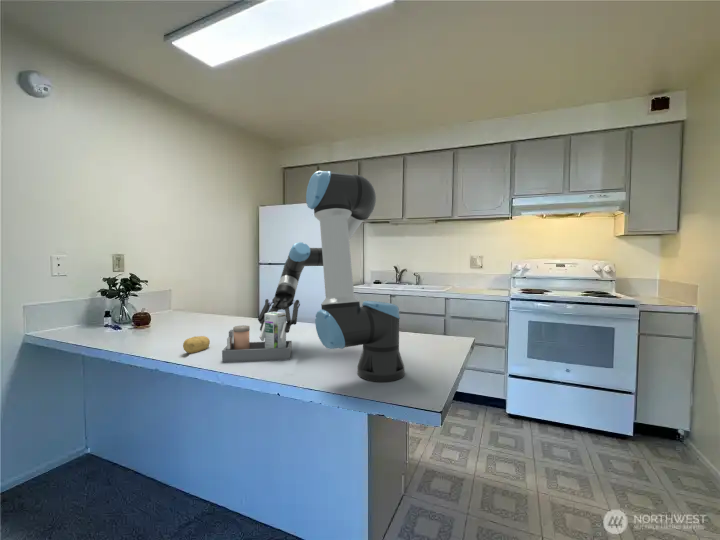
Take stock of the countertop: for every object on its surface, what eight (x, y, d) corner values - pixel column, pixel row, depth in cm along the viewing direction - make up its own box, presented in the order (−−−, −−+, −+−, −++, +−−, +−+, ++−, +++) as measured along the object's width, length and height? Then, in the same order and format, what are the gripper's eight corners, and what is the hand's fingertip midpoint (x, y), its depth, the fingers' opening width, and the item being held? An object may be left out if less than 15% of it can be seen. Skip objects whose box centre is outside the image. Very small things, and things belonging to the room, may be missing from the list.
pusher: (235, 352, 127) (235, 328, 127) (230, 359, 119) (229, 333, 119) (232, 353, 127) (232, 328, 127) (227, 359, 119) (226, 333, 119)
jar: (248, 358, 121) (247, 328, 121) (232, 359, 121) (231, 329, 120) (251, 354, 127) (250, 325, 126) (235, 354, 126) (235, 325, 126)
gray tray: (291, 353, 131) (291, 340, 131) (289, 362, 121) (289, 348, 121) (229, 355, 128) (229, 342, 128) (222, 365, 118) (222, 350, 118)
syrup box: (264, 352, 124) (263, 313, 123) (275, 348, 129) (274, 310, 129) (276, 354, 121) (275, 314, 121) (287, 350, 127) (286, 312, 126)
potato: (178, 355, 129) (177, 339, 129) (202, 347, 140) (202, 332, 139) (190, 357, 127) (190, 340, 126) (214, 349, 137) (214, 334, 136)
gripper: (312, 295, 138) (300, 345, 123) (265, 294, 141) (248, 343, 126) (308, 283, 133) (296, 334, 117) (260, 283, 135) (241, 333, 120)
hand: (271, 339), depth 122 cm, fingers closed on syrup box, 7 cm apart
